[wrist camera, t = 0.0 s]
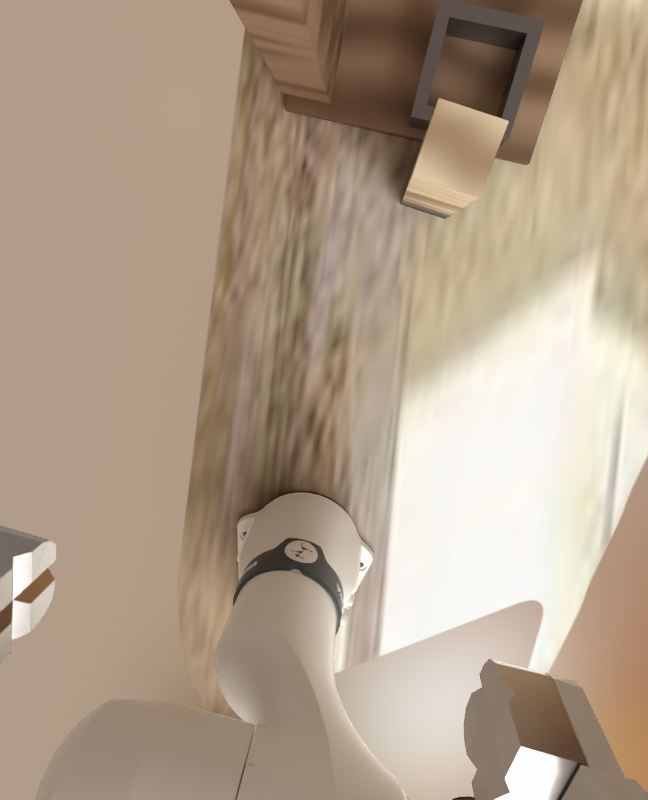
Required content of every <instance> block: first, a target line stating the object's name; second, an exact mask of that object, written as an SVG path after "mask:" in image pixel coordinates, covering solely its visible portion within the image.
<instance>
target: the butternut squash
mask: <svg viewBox="0 0 648 800" xmlns="http://www.w3.org/2000/svg"><path fill="white" fill-rule="evenodd" d="M452 800H475V798H474V797H458V798H454V799H452Z"/></svg>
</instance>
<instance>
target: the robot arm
mask: <svg viewBox="0 0 648 800" xmlns="http://www.w3.org/2000/svg"><path fill="white" fill-rule="evenodd" d="M245 532H247V533H246V534H245ZM237 538H238V556H237V561H238V571H239V581H238V584H237V587H236V592H235V595H234V599H233V609H232V611H231V614H230V616H229V618H228V621H227V623H226V625H225V628H224V630H223V633H222V635H221V637H220V640H219V642H218V645H217V649H216V655H215V669H216V675H217V678H218V682H219V685H220V688H221V690H222V693H223V695H224V697H225V699H226V701H227V703H228V704H229V705H230V707H231V708H232V709H233V710H234V711H235V712H236V713H237V714H238V716H239V717H240V718H241V719H242V720H243V721H241V720H237V719H234V718H230V717H227V716H223V715H220V714H216V713H213V712H209V711H206V710H202V709H199V708H195V707H191V706H188V705H184V704H181V703H177V702H174V701H173V702H172V701H159V700H137V699H136V700H135V699H134V700H133V699H113V700H110V701H108V702H106V703H104V704H103V705H101V706H99V707H98V708H96V709H95V710H94V711H92V712H91V713H90V714H89V715H87V716H86V717H85V718H84V719H83V720H82V721H81V722H79V724H77V725H76V727H75V728H74V729H73V730H72V731H71V732H70V733H69V734H68V736H67V737H66V738H65V739H64V741H63V742H62V744H61V745H60V746H59V748H58V749H57V751H56V753H55V754H54V756H53V757H52V759H51V761H50V763H49V765H48V767H47V769H46V771H45V773H44V776H43V778H42V780H41V783H40V786H39V789H38V792H37V795H36V799H35V800H409V799H408V797H407V795H406V793H405V791H404V789H403V787H402V786H401V784H400V782H399V781H398V779H397V778H396V777H395V776H394V775H393V774H392V773H390V771H389V770H387V769H386V768H385V767H384V766H383V765H382V764H381V762H380V761H379V760H378V759H377V758H376V757H375V756H374V755H373V754H372V752H371V751H370V750H369V749H368V748H367V746H366V745H365V743H363V741H362V739H361V738H360V736H359V735H358V733H357V731H356V730H355V729H354V727H353V725H352V723H351V721H350V719H349V718H348V716H347V714H346V712H345V709H344V707H343V705H342V703H341V700H340V698H339V695H338V692H337V688H336V684H335V679H334V645H335V635H336V634H337V632H338V629H339V627H344V625H345V623H346V621H347V618H348V614H349V610H348V609H347V608H346V607H347V606H350V607H351V606H352V604H353V602H354V598H355V596H354V593H355V592H356V589H357V588H358V586H359V584H360V582H361V581H362V579H363V577H364V575H365V574H366V572H367V570H368V568H369V567H370V565H371V563H372V561H373V552H372V550H371V549H370V548H369V546H368V545H367V544H366V543H365V542H364V541H363V540H362V539H361V538H360V537H359V535H358V532H357V530H356V527H355V525H354V523H353V521H352V519H351V518H350V516H349V515H348V514H347V513H346V512H345V510H344V509H342V508H341V507H340V506H339V505H338V504H336V503H335V502H333V501H331V500H330V499H328V498H325V497H323V496H320V495H317V494H312V493H291V494H286V495H283V496H280V497H278V498H276V499H274V500H273V501H271V502H270V503H268V504H267V505H266V506H265V507H264V508H263V509H261V510H260V511H258V512H255V513H251V514H248V515H245V516H243V517H241V518H240V519H239V522H238V525H237ZM55 560H56V544H55V543H53V542H52V541H51V540H48V539H44V538H41V537H37V536H34V535H31V534H27V533H24V532H21V531H17V530H14V529H10V528H7V527H4V526H0V663H1V662H2V661H3V660H4V659H5V658H6V657H7V656H8V655H9V654H10V653H11V642H12V640H13V639H15V638H18V637H20V636H22V635H24V634H27V633H29V632H30V631H31V630H32V629H33V628H34V627H35V626H36V625H37V624H38V622H39V621H40V620H41V619H42V617H43V615H44V614H45V612H46V610H47V609H48V607H49V605H50V603H51V600H52V596H53V593H54V586H55V579H54V577H53V575H52V574H51V572H50V570H49V569H48V567H49V566H50V565H51V564H52V563H53V562H54V561H55ZM360 562H362V563H363V564H360ZM480 679H481V683H482V688H480V689H478V690H477V691H475V692H473V693H472V694H471V696H470V699H469V702H468V704H467V707H466V713H465V720H464V739H465V746H466V752H467V755H468V756H469V758H470V759H471V761H472V762H473V764H474V765H475V767H476V768H477V769H478V770H477V772H476V775H475V777H474V779H473V781H472V786H473V791H474V797H475V800H648V793H647V792H646V791H645V790H644V789H643V788H642V787H641V786H640V785H639V784H638V783H637V782H636V780H633V779H629V778H626V777H625V776H624V773H623V772H622V769H621V767H620V765H619V763H618V761H617V759H616V757H615V755H614V753H613V751H612V749H611V747H610V745H609V743H608V741H607V738H606V736H605V734H604V732H603V730H602V728H601V726H600V724H599V722H598V720H597V718H596V716H595V713H594V711H593V709H592V707H591V705H590V703H589V701H588V699H587V697H586V695H585V693H584V691H583V689H582V687H581V686H580V685H579V684H578V683H577V682H576V681H575V680H572V679H568V678H564V677H560V676H556V675H552V674H548V673H545V674H544V673H542V672H539V671H535V670H531V669H527V668H523V667H519V666H515V665H512V664H507V663H504V662H500V661H496V660H492V659H489V660H488V661H487V662H486V663H485V664H484V666H483V668H482V670H481V673H480ZM253 733H254V738H253ZM252 738H253V741H252ZM251 742H252V745H251ZM250 745H251V749H250ZM249 749H250V752H249ZM248 754H249V756H248ZM247 758H248V760H247ZM246 762H247V764H246ZM245 766H246V767H245ZM244 770H245V771H244ZM243 774H244V775H243ZM242 778H243V779H242ZM241 782H242V783H241ZM240 786H241V787H240ZM239 789H240V790H239ZM238 793H239V794H238ZM237 797H238V798H237Z"/></svg>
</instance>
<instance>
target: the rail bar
mask: <svg viewBox="0 0 648 800" xmlns="http://www.w3.org/2000/svg"><path fill="white" fill-rule="evenodd" d="M508 123H509V121H507V120H504V119H501V118H498V117H495V116H492V115H489V114H486V113H483V112H480V111H477V110H474V109H471V108H468V107H465V106H462V105H459V104H456V103H453V102H450V101H447V100H444V99H441V98H439V99H438V102H437V105H436V107H435V110H434V113H433V115H432V118H431V121H430V123H429V126H428V129H427V131H426V134H425V137H424V139H423V142H422V145H421V147H420V150H419V153H418V155H417V158H416V161H415V164H414V167H413V170H412V173H411V176H410V179H409V182H408V185H407V187H406V190H405V193H404V196H403V199H402V202H401V204H402V205H405V206H408V207H411V208H414V209H417V210H420V211H423V212H426V213H429V214H432V215H435V216H438V217H441V218H444V219H445V218H447V217H449V216H450V215H452V214H453V213H455V212H457V211H458V210H460V209H461V208H463V207H465V206H466V205H468V204H470V203H471V202H473V201H474V200H476V199H478V198H479V197H480V194H481V192H482V189H483V187H484V184H485V181H486V179H487V176H488V174H489V171H490V169H491V166H492V164H493V161H494V158H495V156H496V153H497V151H498V148H499V146H500V143H501V141H502V138H503V135H504V133H505V130H506V128H507V125H508Z"/></svg>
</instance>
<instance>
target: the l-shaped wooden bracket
mask: <svg viewBox="0 0 648 800" xmlns="http://www.w3.org/2000/svg"><path fill="white" fill-rule="evenodd" d="M582 1H583V0H230V2H231V4H232V5H233V7H234V9H235V10H236V12H237V14H238V16H239V17H240V19H241V21H242V23H243V24H244V26H245V28H246V30H247V31H248V33H249V35H250V37H251V38H252V40H253V42H254V44H255V45H256V47H257V49H258V51H259V52H260V54H261V56H262V58H263V59H264V61H265V63H266V65H267V66H268V68H269V70H270V72H271V73H272V75H273V77H274V79H275V80H276V82H277V84H278V86H279V87H280V89H281V91H282V92H283V93H285V94H287V100H286V105H285V109H286V111H288V112H293V113H297V114H302V115H306V116H311V117H315V118H319V119H324V120H328V121H333V122H337V123H342V124H346V125H351V126H355V127H360V128H364V129H368V130H373V131H377V132H382V133H386V134H391V135H395V136H400V137H404V138H409V139H413V140H417V141H422V142H423V139H424V137H425V134H426V131H427V129H428V126H429V123H430V121H431V118H432V115H433V113H434V110H435V107H436V105H437V102H438V99H439V98H441V99H444V100H447V101H450V102H453V103H456V104H459V105H462V106H465V107H468V108H471V109H474V110H477V111H480V112H483V113H486V114H489V115H492V116H495V117H498V118H501V119H504V120H507V121H509V123H508V125H507V128H506V130H505V133H504V135H503V138H502V141H501V143H500V146H499V148H498V151H497V153H496V156H495V158H498V159H502V160H506V161H511V162H515V163H520V164H524V165H527V164H529V163H530V160H531V157H532V154H533V151H534V148H535V145H536V142H537V139H538V135H539V132H540V129H541V126H542V123H543V120H544V117H545V114H546V111H547V108H548V105H549V102H550V99H551V96H552V93H553V89H554V86H555V83H556V80H557V77H558V74H559V71H560V68H561V65H562V62H563V59H564V56H565V53H566V50H567V47H568V44H569V40H570V37H571V34H572V31H573V28H574V25H575V22H576V19H577V16H578V13H579V10H580V7H581V4H582Z"/></svg>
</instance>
